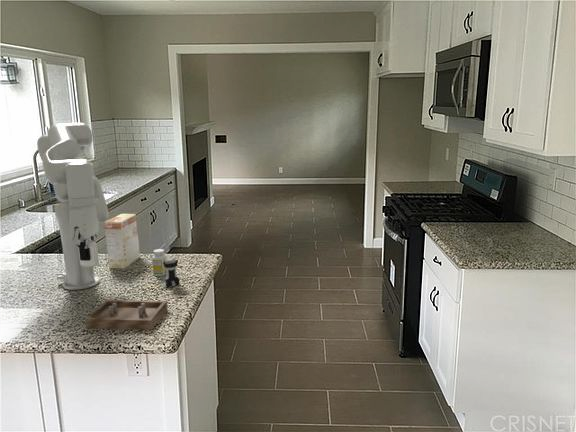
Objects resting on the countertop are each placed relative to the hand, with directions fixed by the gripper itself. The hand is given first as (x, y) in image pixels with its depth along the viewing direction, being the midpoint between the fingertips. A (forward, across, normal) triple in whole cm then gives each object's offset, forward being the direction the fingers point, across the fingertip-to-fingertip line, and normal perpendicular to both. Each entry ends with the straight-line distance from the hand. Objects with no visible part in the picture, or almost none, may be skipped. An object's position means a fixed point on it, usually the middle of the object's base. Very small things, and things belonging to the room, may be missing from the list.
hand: (88, 257), depth 154 cm
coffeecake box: (+17, -45, -9) cm, 49 cm away
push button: (+17, -20, +19) cm, 33 cm away
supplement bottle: (+17, -32, +11) cm, 38 cm away
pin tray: (+17, +8, +15) cm, 24 cm away
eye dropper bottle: (+3, 0, 0) cm, 3 cm away
